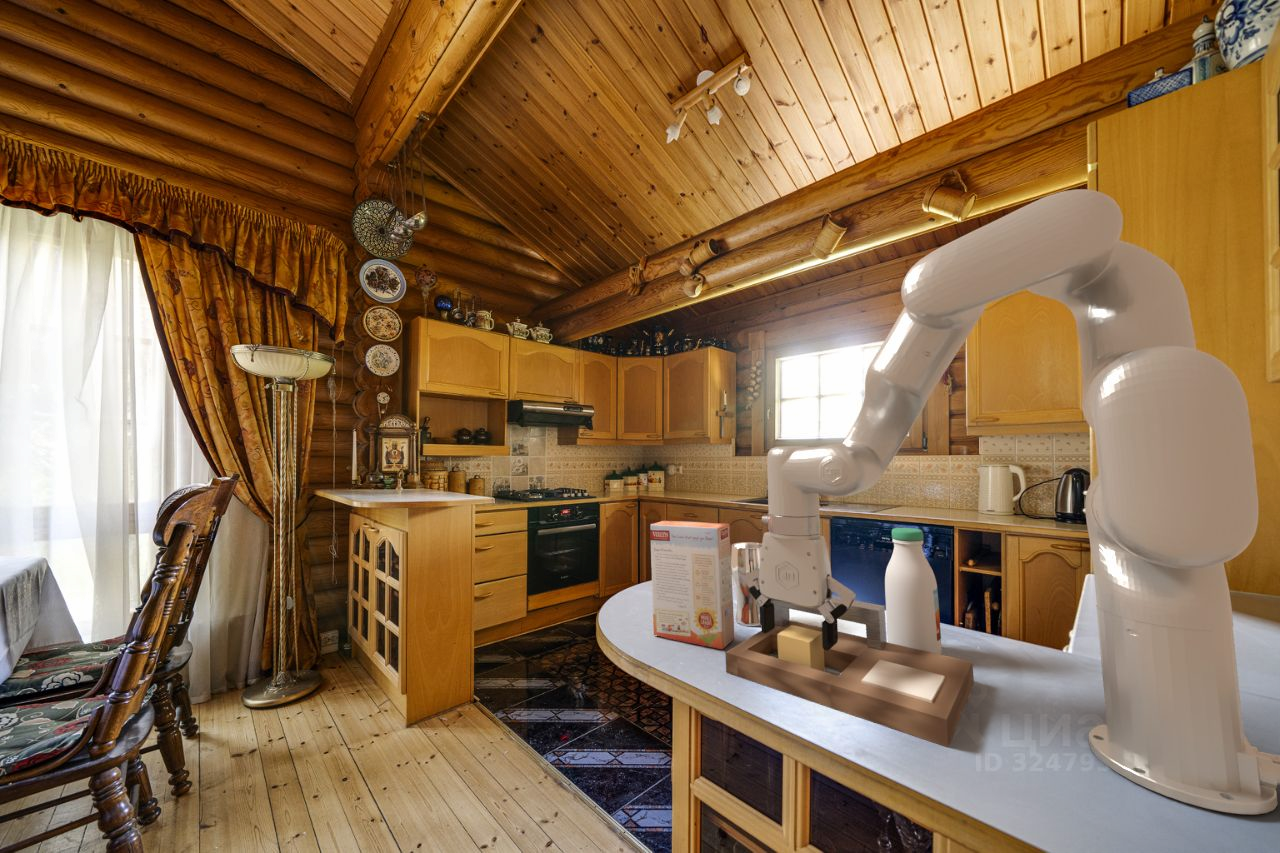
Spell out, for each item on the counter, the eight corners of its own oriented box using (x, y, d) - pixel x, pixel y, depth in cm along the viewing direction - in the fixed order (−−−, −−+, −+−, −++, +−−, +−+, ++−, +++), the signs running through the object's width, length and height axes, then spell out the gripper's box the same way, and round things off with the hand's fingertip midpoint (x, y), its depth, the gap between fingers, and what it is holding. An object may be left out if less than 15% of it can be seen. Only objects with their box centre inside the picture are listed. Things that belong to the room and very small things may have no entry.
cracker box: (735, 639, 85) (731, 522, 86) (722, 651, 80) (718, 527, 81) (668, 626, 93) (664, 518, 94) (652, 636, 88) (649, 523, 89)
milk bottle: (932, 665, 73) (924, 534, 74) (880, 651, 78) (873, 529, 80) (948, 651, 78) (940, 528, 79) (898, 638, 84) (891, 524, 85)
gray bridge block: (886, 643, 74) (884, 605, 74) (881, 649, 72) (878, 610, 72) (779, 619, 86) (777, 586, 86) (771, 623, 84) (770, 590, 84)
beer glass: (770, 628, 90) (767, 548, 91) (733, 626, 91) (730, 548, 92) (768, 616, 97) (764, 542, 98) (733, 614, 98) (730, 541, 99)
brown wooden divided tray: (974, 683, 67) (972, 659, 67) (948, 747, 53) (946, 716, 53) (782, 635, 86) (781, 616, 87) (726, 672, 72) (725, 650, 73)
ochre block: (824, 672, 72) (822, 632, 72) (811, 684, 68) (809, 642, 68) (793, 663, 75) (791, 624, 75) (779, 674, 71) (777, 634, 72)
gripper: (732, 523, 76) (735, 631, 75) (842, 535, 64) (847, 663, 63) (755, 518, 81) (758, 618, 81) (860, 528, 70) (865, 646, 69)
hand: (797, 638), depth 72 cm, fingers open, 9 cm apart
